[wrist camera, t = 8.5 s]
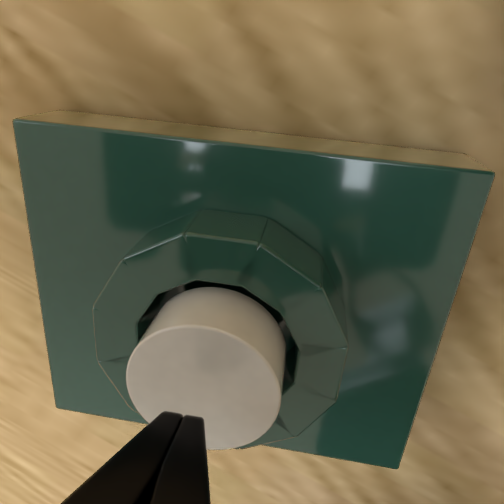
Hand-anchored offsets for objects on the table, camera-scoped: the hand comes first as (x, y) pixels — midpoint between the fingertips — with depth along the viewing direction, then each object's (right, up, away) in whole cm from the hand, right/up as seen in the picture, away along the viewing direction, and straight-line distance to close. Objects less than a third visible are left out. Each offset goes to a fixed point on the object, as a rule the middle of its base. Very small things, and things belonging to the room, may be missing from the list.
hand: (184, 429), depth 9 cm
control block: (+1, +3, +6) cm, 7 cm away
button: (0, +1, +3) cm, 3 cm away
